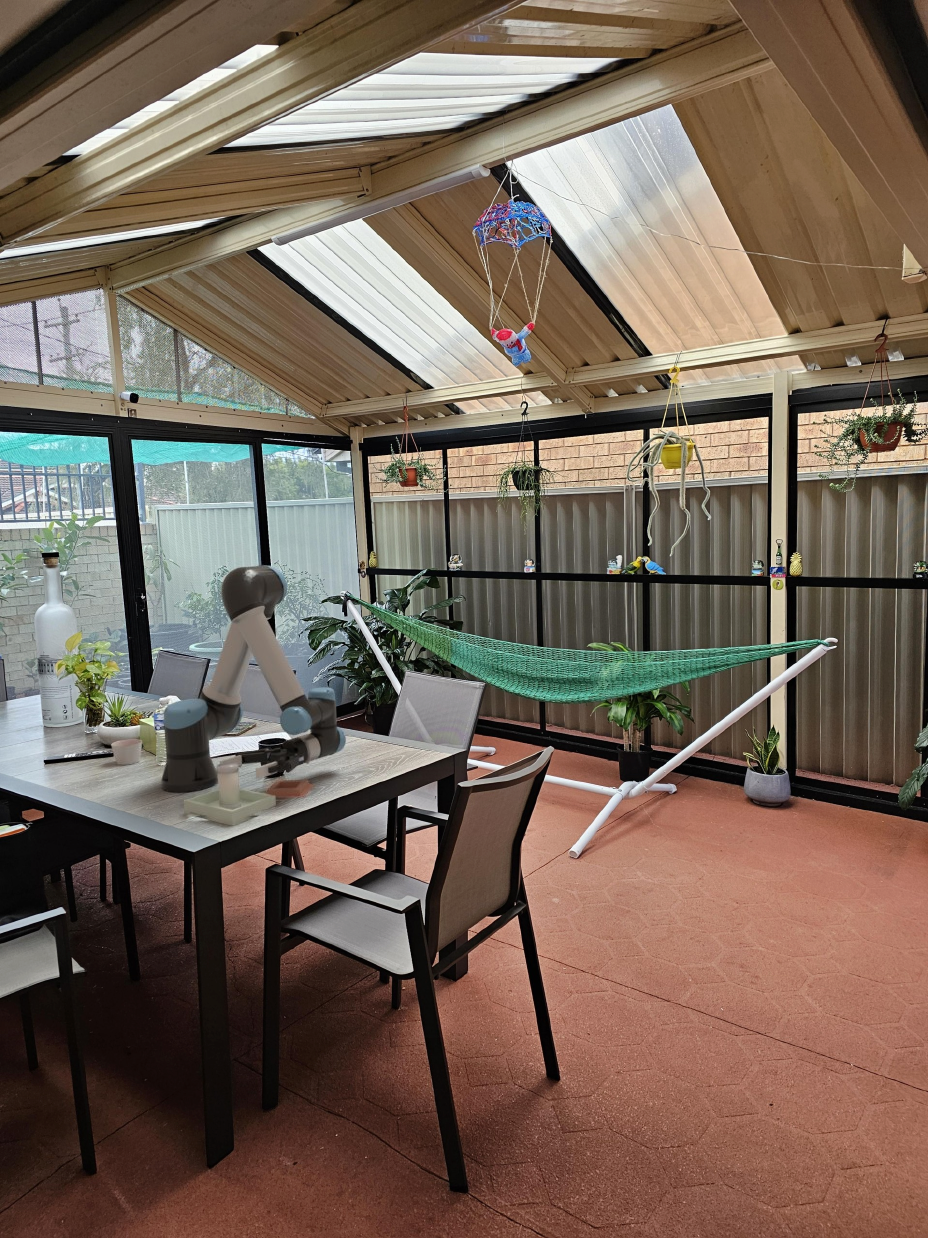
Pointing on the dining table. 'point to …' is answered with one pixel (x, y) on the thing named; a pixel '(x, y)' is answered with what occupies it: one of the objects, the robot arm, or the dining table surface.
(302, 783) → the orange square coaster
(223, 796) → the cylinder
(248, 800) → the tray
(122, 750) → the pink cup
